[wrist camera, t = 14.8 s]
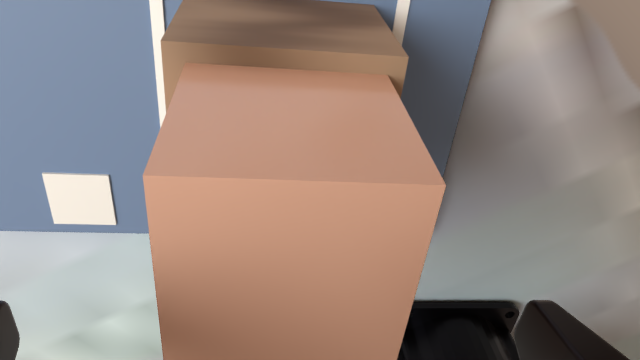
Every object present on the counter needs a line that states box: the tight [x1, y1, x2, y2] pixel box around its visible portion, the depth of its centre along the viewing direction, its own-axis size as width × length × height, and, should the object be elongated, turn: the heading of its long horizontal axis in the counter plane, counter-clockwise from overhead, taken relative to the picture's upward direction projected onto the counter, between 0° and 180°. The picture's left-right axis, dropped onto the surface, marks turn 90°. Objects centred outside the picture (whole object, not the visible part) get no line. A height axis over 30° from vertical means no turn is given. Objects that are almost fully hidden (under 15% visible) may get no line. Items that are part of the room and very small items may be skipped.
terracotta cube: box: [143, 63, 446, 360], centre depth 12 cm, size 5×5×5 cm
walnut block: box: [161, 0, 409, 112], centre depth 16 cm, size 6×6×5 cm
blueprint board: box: [0, 0, 491, 233], centre depth 18 cm, size 18×12×1 cm, turn 84°
